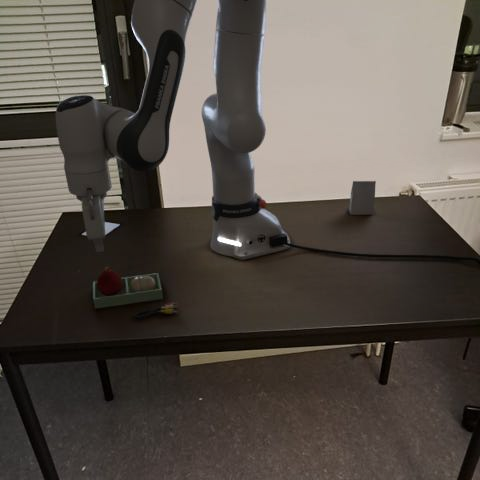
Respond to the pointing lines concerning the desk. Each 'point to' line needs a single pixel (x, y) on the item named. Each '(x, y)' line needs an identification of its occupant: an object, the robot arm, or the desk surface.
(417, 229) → the desk surface
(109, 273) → the onion
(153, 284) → the cream rounded lump
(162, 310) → the composite cable
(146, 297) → the holder
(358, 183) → the grey rectangular block
